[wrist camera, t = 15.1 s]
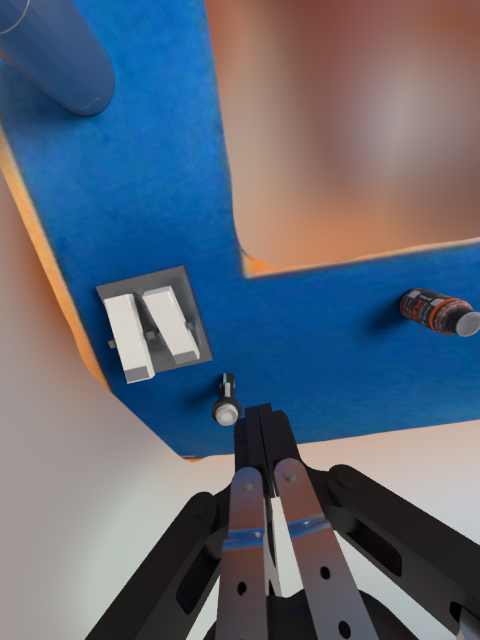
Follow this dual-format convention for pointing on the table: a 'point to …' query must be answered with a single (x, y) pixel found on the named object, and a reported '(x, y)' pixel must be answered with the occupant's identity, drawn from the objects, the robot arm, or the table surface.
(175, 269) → the switch unit
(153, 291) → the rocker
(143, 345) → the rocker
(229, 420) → the push button
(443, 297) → the supplement bottle
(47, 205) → the table surface
